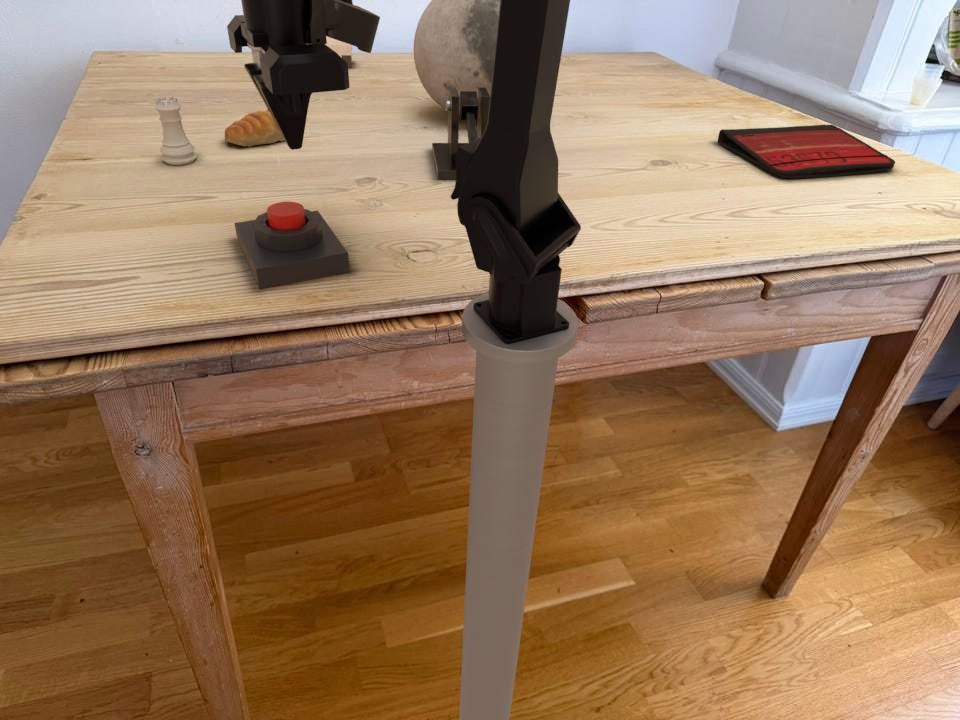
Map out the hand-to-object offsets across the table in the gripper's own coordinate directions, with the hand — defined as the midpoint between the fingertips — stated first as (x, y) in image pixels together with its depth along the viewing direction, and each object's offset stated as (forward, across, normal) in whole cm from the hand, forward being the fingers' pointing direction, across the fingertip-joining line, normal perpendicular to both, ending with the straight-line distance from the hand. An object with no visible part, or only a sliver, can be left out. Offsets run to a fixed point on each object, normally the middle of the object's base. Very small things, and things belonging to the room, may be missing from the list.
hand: (295, 148), depth 64 cm
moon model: (+12, +38, -39) cm, 56 cm away
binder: (+12, +3, -77) cm, 78 cm away
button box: (+12, +1, +2) cm, 12 cm away
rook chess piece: (+12, +34, +8) cm, 37 cm away
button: (+8, +1, +2) cm, 8 cm away
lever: (+6, +15, -26) cm, 31 cm away
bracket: (+12, +18, -28) cm, 35 cm away
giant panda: (+11, +80, -25) cm, 84 cm away
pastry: (+12, +39, -4) cm, 41 cm away
